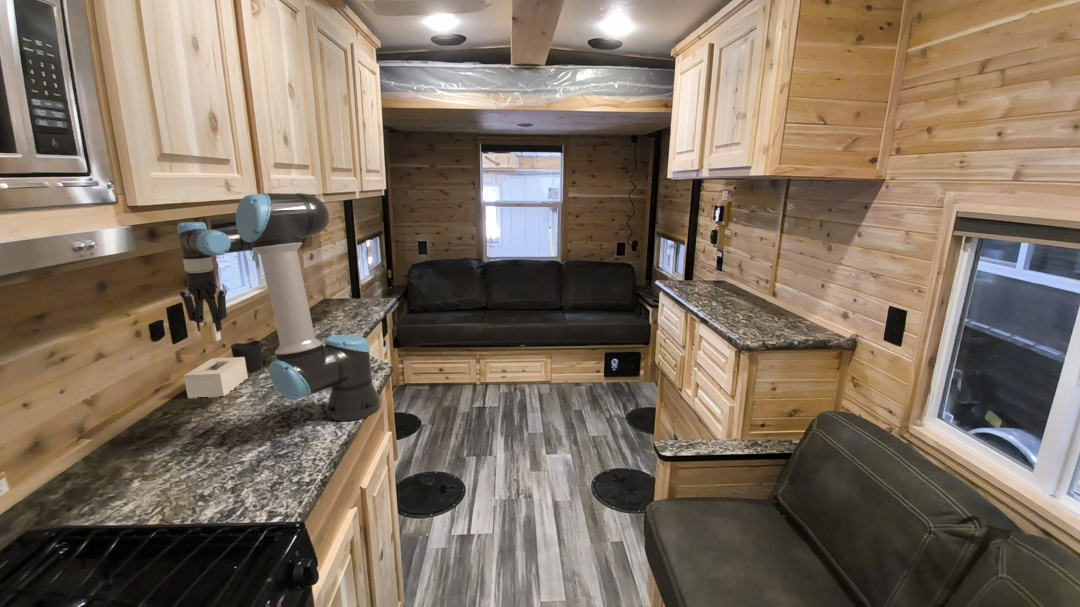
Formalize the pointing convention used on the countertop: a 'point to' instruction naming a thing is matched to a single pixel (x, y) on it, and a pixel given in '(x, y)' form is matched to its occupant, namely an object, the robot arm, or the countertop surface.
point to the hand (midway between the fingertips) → (212, 340)
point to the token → (207, 334)
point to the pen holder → (249, 354)
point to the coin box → (215, 377)
